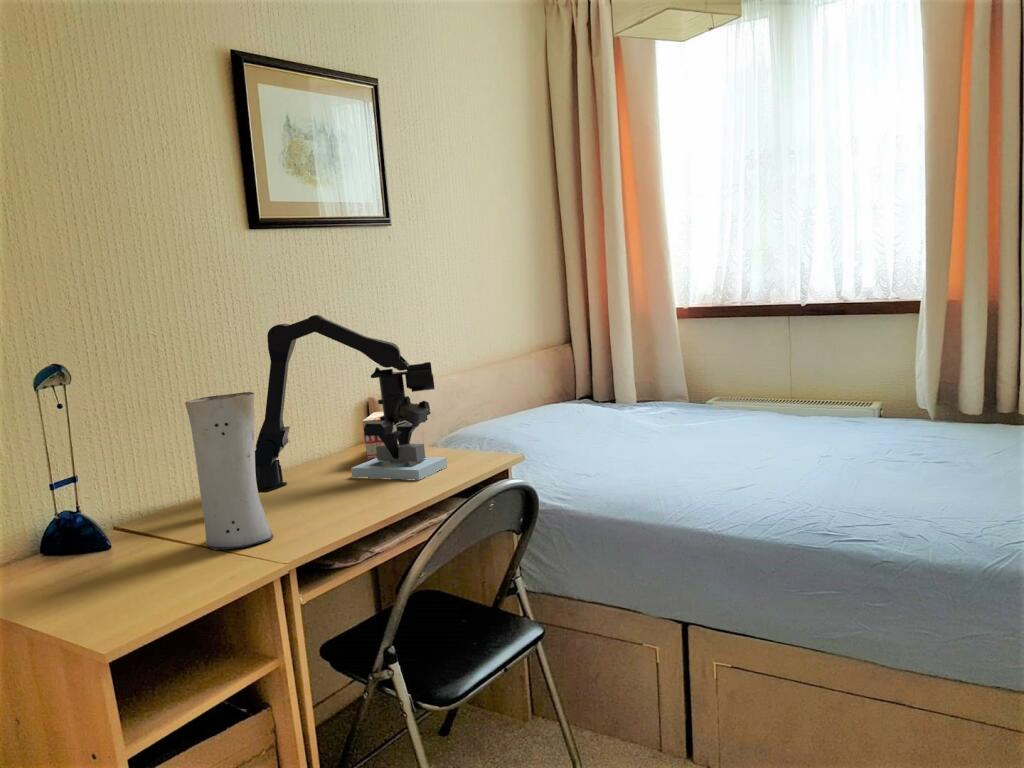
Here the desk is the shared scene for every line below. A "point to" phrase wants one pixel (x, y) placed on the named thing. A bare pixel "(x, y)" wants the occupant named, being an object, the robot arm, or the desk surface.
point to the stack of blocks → (372, 437)
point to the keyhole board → (399, 469)
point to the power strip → (402, 454)
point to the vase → (228, 470)
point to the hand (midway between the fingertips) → (400, 456)
